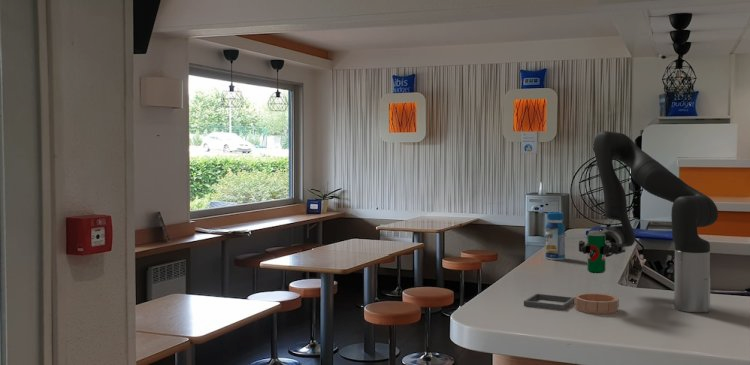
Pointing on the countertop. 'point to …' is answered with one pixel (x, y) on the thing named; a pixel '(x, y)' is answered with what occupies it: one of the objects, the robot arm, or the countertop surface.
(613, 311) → the bowl
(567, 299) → the tray
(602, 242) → the soda can
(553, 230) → the beverage bottle
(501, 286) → the countertop surface
